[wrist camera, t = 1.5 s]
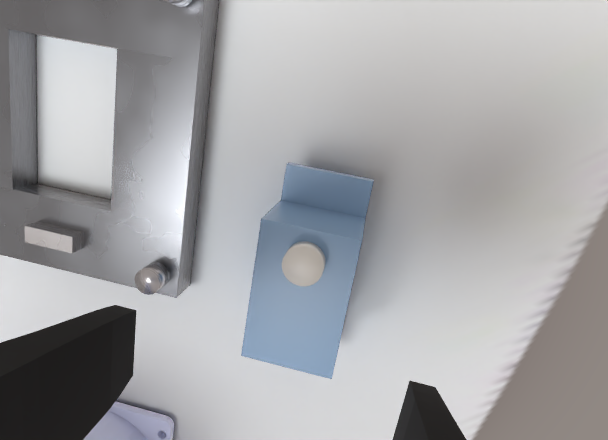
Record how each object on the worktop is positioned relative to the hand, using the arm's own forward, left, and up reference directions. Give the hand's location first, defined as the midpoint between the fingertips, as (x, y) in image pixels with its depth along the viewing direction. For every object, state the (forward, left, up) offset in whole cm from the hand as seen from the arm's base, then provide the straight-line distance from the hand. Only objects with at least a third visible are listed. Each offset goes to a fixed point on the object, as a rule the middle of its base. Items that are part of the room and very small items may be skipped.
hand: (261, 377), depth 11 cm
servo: (0, 0, -10) cm, 10 cm away
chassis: (+4, +12, -10) cm, 16 cm away
